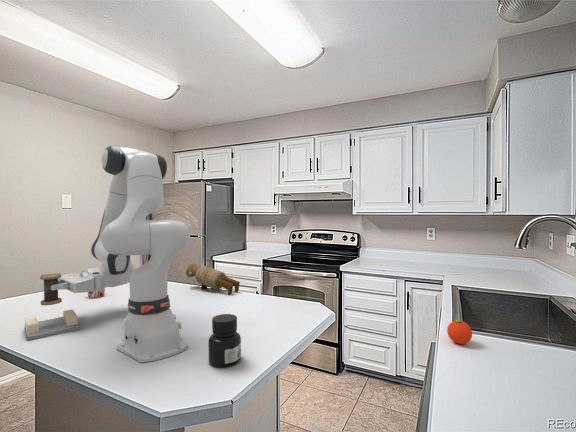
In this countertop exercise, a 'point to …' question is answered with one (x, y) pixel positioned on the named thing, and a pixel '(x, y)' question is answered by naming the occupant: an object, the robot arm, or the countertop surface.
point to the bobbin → (50, 295)
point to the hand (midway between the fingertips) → (48, 286)
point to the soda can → (96, 293)
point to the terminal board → (51, 325)
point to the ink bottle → (224, 341)
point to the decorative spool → (212, 278)
